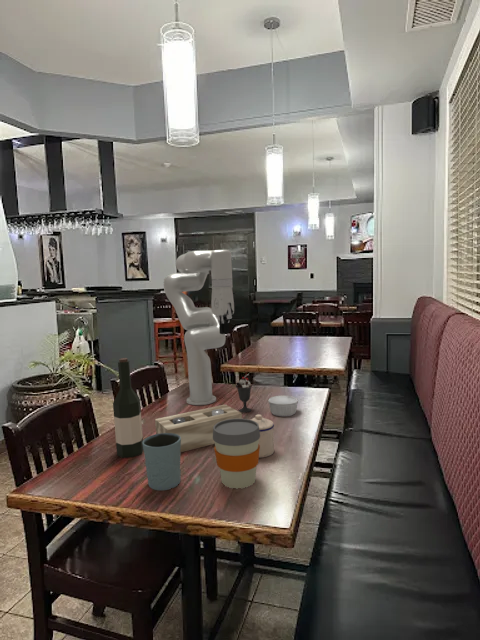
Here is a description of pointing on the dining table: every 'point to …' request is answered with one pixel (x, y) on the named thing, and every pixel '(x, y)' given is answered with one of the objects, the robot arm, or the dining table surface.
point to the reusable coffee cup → (237, 451)
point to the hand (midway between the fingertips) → (224, 333)
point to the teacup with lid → (265, 436)
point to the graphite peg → (178, 420)
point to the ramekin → (283, 405)
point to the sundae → (244, 392)
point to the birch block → (196, 426)
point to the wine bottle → (127, 415)
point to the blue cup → (162, 460)
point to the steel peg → (217, 412)
